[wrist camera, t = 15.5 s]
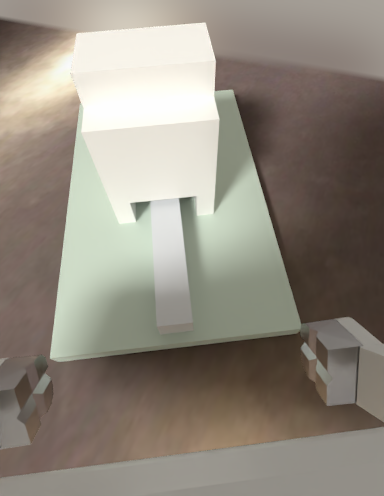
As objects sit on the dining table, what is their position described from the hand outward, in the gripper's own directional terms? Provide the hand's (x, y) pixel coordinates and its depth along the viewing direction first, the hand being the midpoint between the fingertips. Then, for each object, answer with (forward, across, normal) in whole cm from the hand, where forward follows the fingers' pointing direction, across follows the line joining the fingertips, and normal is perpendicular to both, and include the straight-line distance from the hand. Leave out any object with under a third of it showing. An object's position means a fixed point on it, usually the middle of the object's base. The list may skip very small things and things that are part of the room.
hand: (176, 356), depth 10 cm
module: (+11, 0, -4) cm, 12 cm away
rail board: (+12, 0, -4) cm, 12 cm away
